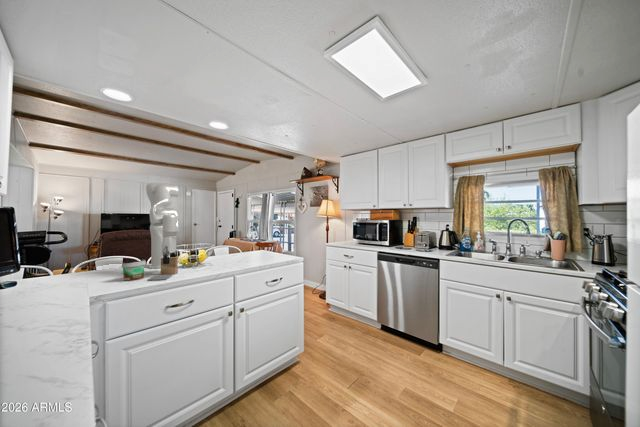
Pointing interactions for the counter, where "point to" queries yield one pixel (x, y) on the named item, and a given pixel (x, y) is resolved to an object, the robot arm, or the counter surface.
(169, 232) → the robot arm
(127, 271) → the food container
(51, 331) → the counter surface
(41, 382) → the counter surface
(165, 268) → the tan cardboard box
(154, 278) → the mat
